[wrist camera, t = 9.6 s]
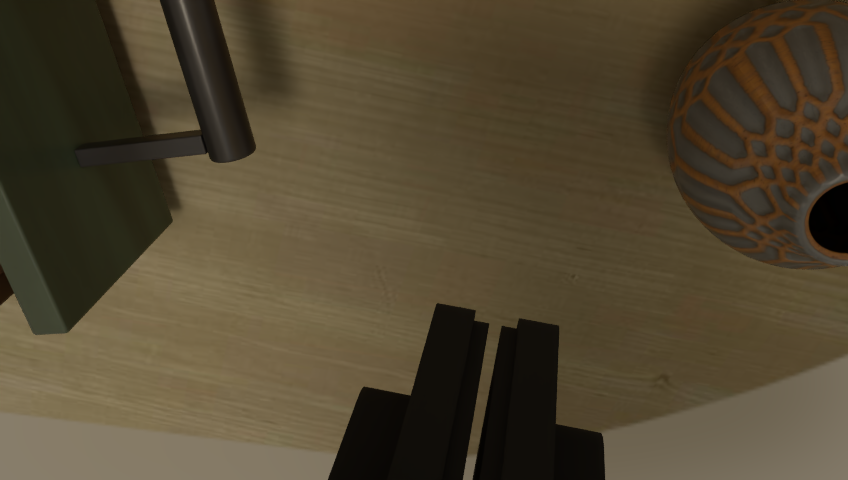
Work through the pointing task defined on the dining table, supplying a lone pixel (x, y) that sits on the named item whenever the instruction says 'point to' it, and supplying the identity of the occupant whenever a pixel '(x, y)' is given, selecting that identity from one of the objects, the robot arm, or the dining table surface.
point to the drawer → (93, 150)
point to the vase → (769, 134)
